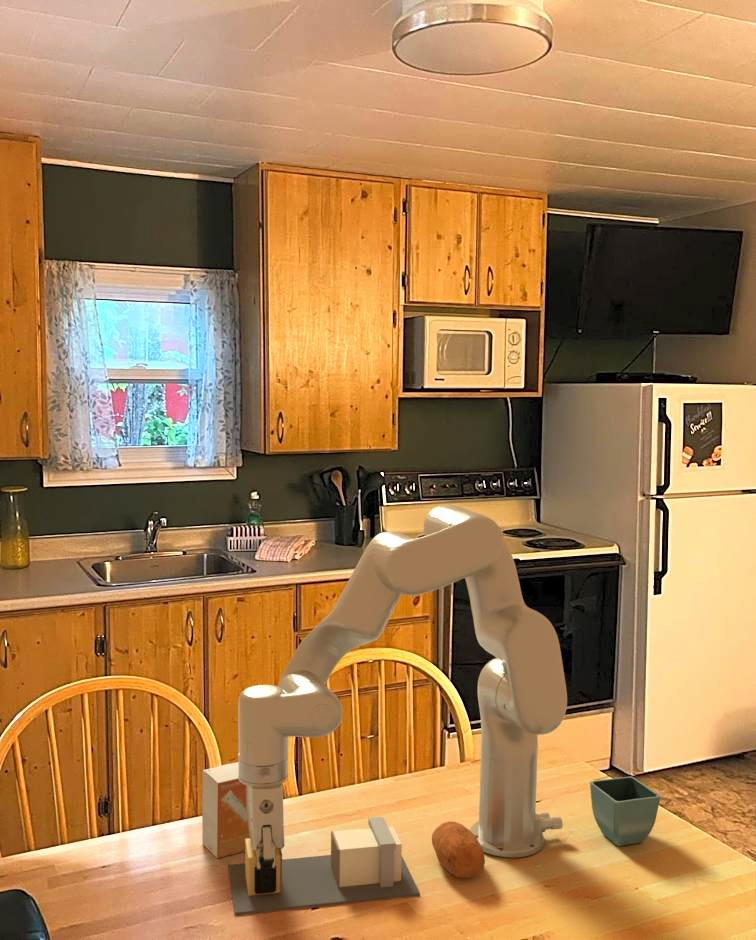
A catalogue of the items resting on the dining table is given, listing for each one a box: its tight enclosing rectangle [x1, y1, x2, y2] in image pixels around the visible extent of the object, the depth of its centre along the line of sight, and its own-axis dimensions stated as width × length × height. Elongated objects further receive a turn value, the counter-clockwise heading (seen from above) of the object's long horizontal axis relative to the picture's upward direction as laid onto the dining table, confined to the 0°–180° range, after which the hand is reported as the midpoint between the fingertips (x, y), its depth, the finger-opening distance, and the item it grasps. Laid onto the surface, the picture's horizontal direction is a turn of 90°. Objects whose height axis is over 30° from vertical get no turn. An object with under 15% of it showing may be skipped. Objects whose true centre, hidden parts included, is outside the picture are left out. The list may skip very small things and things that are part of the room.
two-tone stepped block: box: [330, 816, 403, 887], centre depth 152 cm, size 10×9×7 cm
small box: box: [201, 761, 250, 859], centre depth 161 cm, size 8×6×13 cm
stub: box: [244, 838, 283, 896], centre depth 148 cm, size 5×6×6 cm
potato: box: [431, 821, 486, 878], centre depth 155 cm, size 7×13×7 cm, turn 11°
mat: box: [228, 854, 421, 916], centre depth 150 cm, size 28×14×1 cm, turn 102°
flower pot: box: [589, 775, 661, 847], centre depth 165 cm, size 9×9×9 cm
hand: (263, 879), depth 148 cm, fingers closed on stub, 6 cm apart
